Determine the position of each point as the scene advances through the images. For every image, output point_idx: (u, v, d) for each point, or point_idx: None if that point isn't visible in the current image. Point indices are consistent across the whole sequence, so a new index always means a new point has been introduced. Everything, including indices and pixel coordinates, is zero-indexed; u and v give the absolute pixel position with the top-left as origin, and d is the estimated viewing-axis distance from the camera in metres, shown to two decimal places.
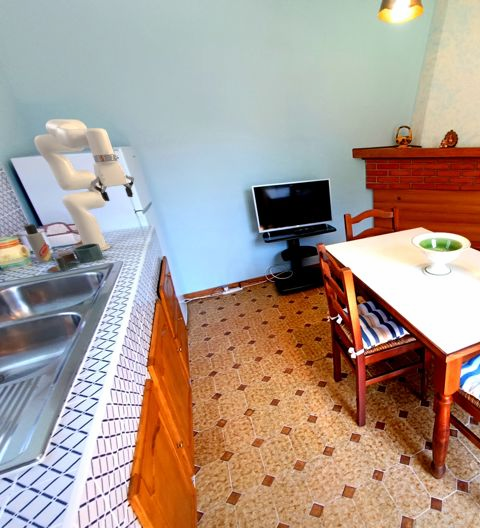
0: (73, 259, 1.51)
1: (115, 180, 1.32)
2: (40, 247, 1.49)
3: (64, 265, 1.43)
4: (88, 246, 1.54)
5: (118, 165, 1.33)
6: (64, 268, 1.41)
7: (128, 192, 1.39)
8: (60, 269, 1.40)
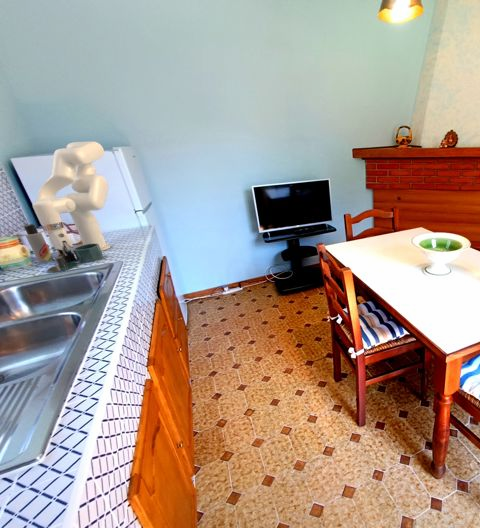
0: None
1: (55, 245, 1.46)
2: (40, 247, 1.49)
3: (64, 265, 1.43)
4: (88, 246, 1.54)
5: (53, 234, 1.43)
6: (64, 268, 1.41)
7: None
8: (60, 269, 1.40)
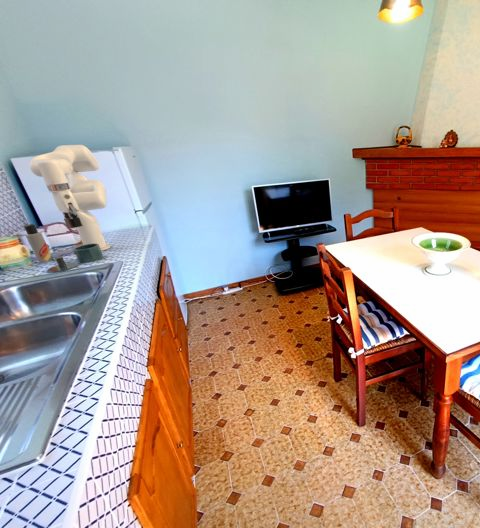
0: None
1: (60, 207, 1.40)
2: (40, 247, 1.49)
3: (64, 265, 1.43)
4: (88, 246, 1.54)
5: (58, 195, 1.36)
6: (64, 268, 1.41)
7: None
8: (60, 269, 1.40)
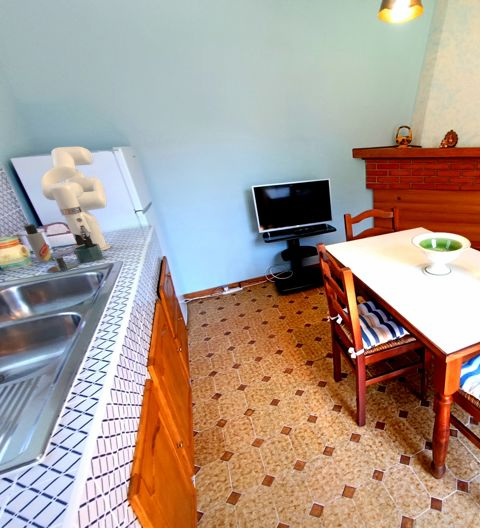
0: None
1: (73, 230, 1.44)
2: (40, 247, 1.49)
3: (64, 265, 1.43)
4: None
5: (71, 218, 1.41)
6: (64, 268, 1.41)
7: None
8: (60, 269, 1.40)
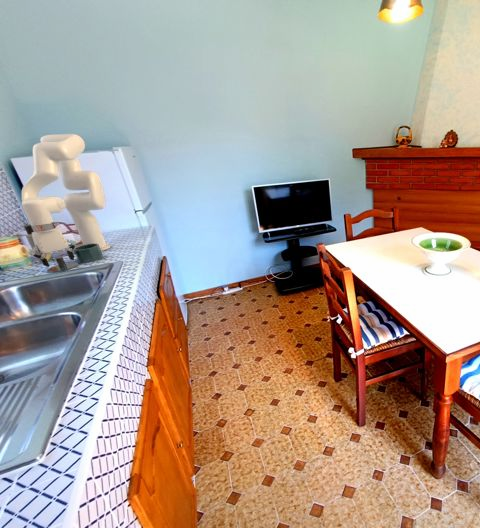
0: None
1: (54, 246, 1.38)
2: None
3: (64, 265, 1.43)
4: (88, 246, 1.54)
5: (58, 232, 1.38)
6: (64, 268, 1.41)
7: (69, 255, 1.44)
8: (60, 269, 1.40)
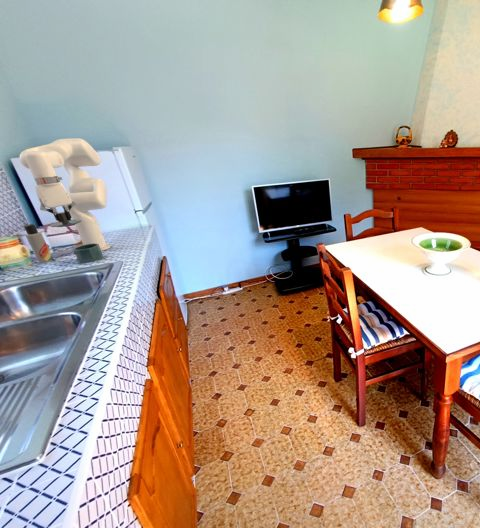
0: None
1: (58, 201, 1.37)
2: (40, 247, 1.49)
3: (67, 221, 1.41)
4: (88, 246, 1.54)
5: (61, 186, 1.37)
6: (67, 223, 1.40)
7: None
8: (63, 224, 1.39)
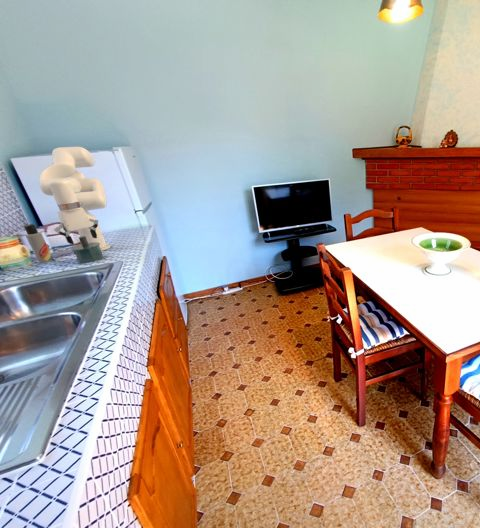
0: None
1: (79, 225, 1.44)
2: (40, 247, 1.49)
3: (87, 244, 1.49)
4: None
5: (82, 211, 1.45)
6: (87, 247, 1.47)
7: (92, 234, 1.51)
8: (83, 248, 1.47)
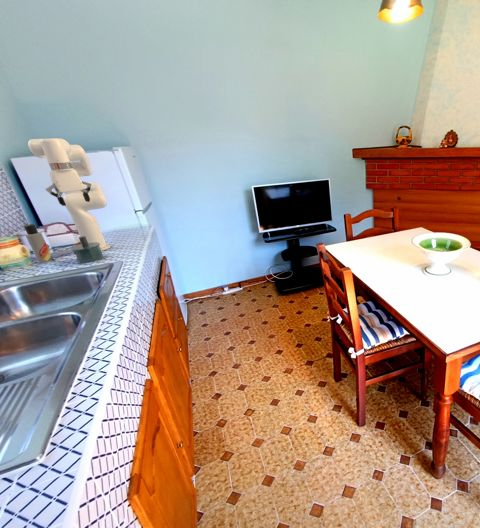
0: None
1: (71, 186, 1.42)
2: (40, 247, 1.49)
3: (87, 244, 1.49)
4: None
5: (74, 172, 1.42)
6: (87, 247, 1.47)
7: (85, 197, 1.49)
8: (83, 248, 1.47)
